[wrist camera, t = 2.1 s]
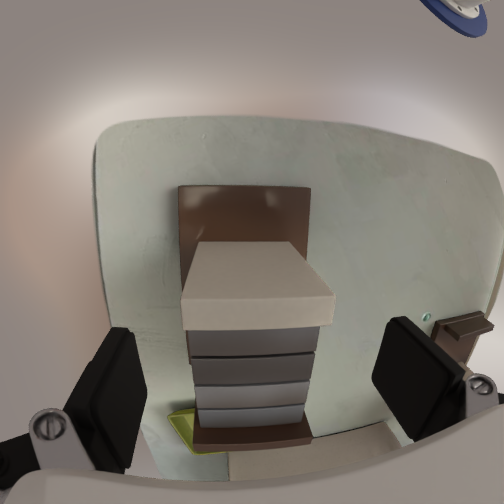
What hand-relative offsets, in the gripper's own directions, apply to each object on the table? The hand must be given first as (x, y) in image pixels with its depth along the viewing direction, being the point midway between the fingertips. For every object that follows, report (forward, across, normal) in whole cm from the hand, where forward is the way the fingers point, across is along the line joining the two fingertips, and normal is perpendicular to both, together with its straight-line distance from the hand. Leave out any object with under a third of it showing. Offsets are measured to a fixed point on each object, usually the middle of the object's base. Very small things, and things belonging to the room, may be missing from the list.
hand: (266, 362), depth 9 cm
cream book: (+13, 0, 0) cm, 13 cm away
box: (+15, -10, +42) cm, 45 cm away
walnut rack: (+14, 0, +3) cm, 14 cm away
